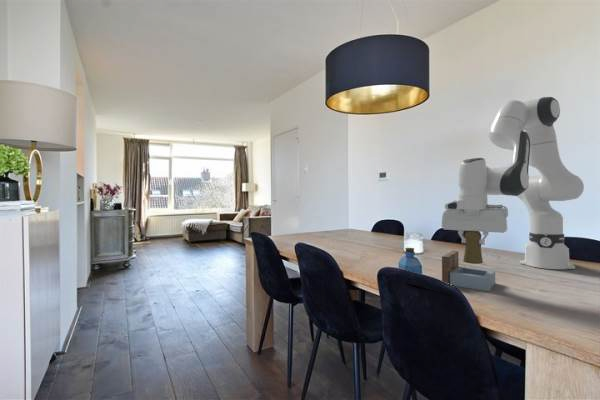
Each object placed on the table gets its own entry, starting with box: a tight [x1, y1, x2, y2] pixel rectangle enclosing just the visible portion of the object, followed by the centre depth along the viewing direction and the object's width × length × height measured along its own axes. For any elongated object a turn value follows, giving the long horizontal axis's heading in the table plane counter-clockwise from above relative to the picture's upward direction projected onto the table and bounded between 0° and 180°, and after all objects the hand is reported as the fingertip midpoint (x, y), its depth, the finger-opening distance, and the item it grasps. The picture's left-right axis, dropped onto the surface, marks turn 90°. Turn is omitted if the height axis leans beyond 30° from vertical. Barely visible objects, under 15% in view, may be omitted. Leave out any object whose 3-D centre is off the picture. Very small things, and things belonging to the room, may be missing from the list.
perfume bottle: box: [398, 247, 423, 275], centre depth 119 cm, size 6×6×12 cm
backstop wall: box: [441, 250, 460, 284], centre depth 118 cm, size 14×2×10 cm, turn 140°
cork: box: [462, 231, 484, 265], centre depth 113 cm, size 6×6×11 cm
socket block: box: [450, 266, 496, 292], centre depth 113 cm, size 12×12×4 cm
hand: (473, 243), depth 113 cm, fingers closed on cork, 4 cm apart
